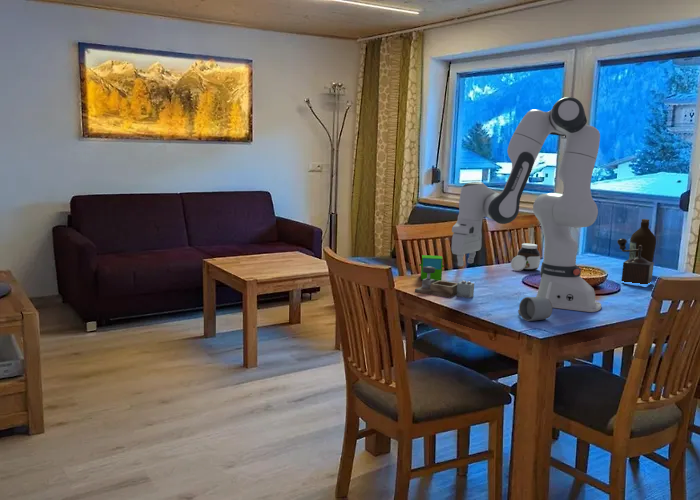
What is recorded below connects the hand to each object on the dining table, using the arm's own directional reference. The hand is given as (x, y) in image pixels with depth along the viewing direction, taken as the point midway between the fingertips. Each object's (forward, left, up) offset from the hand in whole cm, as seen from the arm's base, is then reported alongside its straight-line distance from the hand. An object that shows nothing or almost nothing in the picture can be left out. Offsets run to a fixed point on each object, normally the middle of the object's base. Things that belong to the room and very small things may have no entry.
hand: (465, 264), depth 232 cm
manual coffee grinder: (-47, -71, -12) cm, 86 cm away
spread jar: (-3, -66, -12) cm, 67 cm away
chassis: (+10, 0, -12) cm, 16 cm away
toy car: (+22, -19, -12) cm, 32 cm away
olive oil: (-47, -94, -12) cm, 106 cm away
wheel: (+14, 0, -8) cm, 16 cm away
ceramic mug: (-29, +14, -12) cm, 35 cm away
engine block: (-1, 0, -12) cm, 12 cm away
